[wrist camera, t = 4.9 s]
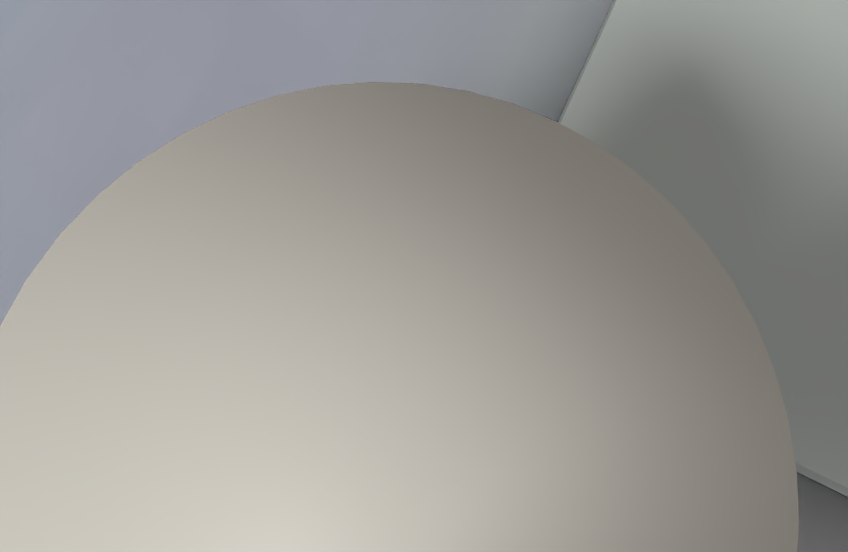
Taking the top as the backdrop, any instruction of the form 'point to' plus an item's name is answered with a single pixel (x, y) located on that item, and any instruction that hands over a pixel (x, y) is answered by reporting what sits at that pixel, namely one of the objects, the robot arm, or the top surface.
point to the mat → (746, 171)
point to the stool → (387, 348)
